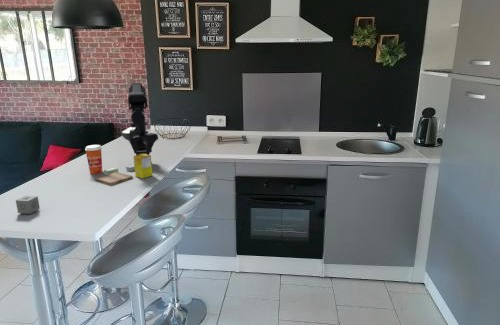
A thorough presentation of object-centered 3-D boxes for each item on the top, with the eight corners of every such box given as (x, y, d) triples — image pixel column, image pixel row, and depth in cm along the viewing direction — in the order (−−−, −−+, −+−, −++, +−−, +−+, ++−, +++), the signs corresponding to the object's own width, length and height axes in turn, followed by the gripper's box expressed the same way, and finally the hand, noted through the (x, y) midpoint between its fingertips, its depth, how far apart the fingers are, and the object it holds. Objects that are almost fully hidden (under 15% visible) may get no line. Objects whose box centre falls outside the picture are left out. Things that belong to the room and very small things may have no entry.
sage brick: (114, 173, 183) (114, 167, 182) (118, 173, 181) (118, 168, 181) (104, 176, 178) (103, 170, 177) (108, 177, 177) (107, 171, 176)
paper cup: (86, 176, 177) (83, 148, 173) (89, 172, 184) (85, 145, 181) (104, 175, 179) (100, 147, 175) (105, 170, 186) (102, 144, 183)
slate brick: (136, 169, 189) (135, 164, 188) (139, 170, 187) (139, 164, 186) (126, 172, 184) (126, 166, 183) (130, 173, 182) (130, 167, 182)
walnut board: (117, 175, 179) (116, 172, 179) (132, 179, 172) (132, 176, 172) (95, 181, 169) (94, 178, 169) (111, 185, 163) (110, 182, 162)
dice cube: (17, 213, 134) (15, 200, 132) (28, 207, 138) (25, 195, 137) (30, 213, 133) (27, 201, 132) (39, 208, 138) (37, 196, 136)
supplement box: (145, 174, 179) (143, 153, 176) (152, 176, 176) (151, 155, 173) (135, 177, 175) (133, 155, 172) (142, 179, 171) (140, 157, 168)
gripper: (111, 121, 167) (114, 154, 171) (137, 125, 157) (140, 159, 161) (131, 118, 176) (134, 149, 180) (157, 121, 165) (160, 154, 170)
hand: (141, 153), depth 172 cm, fingers open, 9 cm apart
